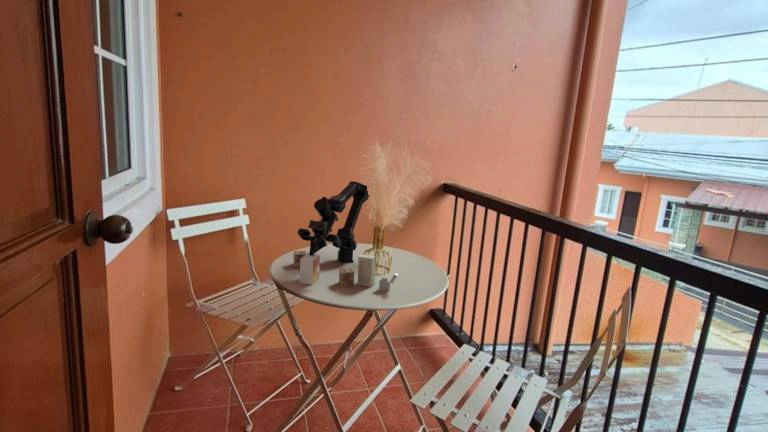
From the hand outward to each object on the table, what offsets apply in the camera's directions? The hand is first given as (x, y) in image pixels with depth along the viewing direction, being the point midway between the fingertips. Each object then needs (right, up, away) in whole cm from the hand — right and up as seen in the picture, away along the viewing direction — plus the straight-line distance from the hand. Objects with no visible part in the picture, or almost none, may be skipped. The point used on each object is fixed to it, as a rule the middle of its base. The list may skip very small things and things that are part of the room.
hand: (310, 255), depth 160 cm
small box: (-1, -11, +3) cm, 11 cm away
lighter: (+31, -14, -2) cm, 34 cm away
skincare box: (+22, -12, +3) cm, 26 cm away
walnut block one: (+14, -12, +2) cm, 19 cm away
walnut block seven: (-8, -7, +19) cm, 21 cm away
